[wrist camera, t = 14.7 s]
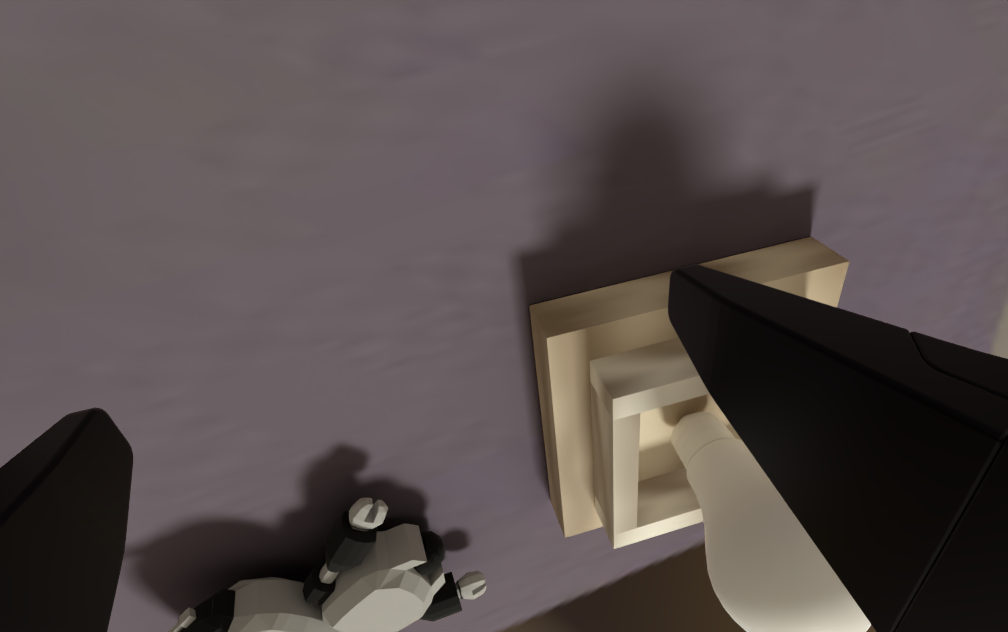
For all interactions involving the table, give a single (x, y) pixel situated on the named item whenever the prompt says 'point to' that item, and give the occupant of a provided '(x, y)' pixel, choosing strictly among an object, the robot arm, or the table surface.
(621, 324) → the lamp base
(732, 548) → the lightbulb
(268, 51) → the table surface
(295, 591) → the robot toy
